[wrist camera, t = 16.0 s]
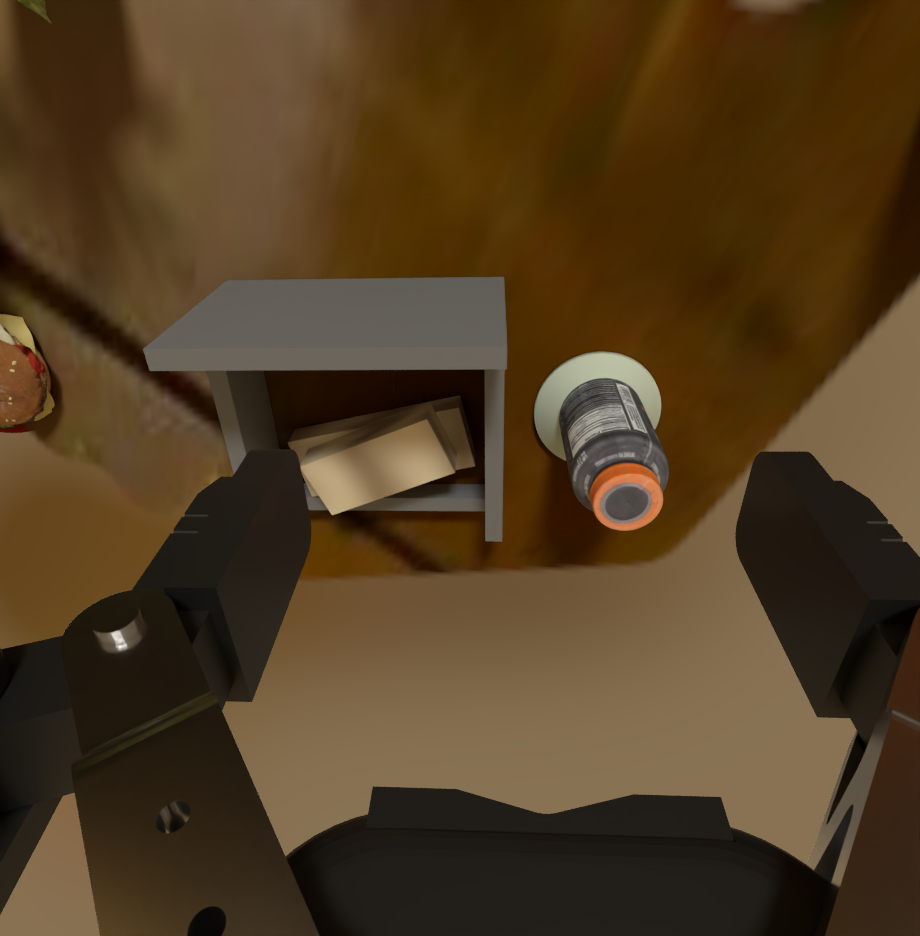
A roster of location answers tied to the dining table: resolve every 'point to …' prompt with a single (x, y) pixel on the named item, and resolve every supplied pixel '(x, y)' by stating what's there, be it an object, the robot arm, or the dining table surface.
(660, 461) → the pill bottle
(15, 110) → the dining table surface
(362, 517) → the dining table surface
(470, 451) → the offcut lower
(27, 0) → the house plant
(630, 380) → the coaster
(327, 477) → the offcut upper
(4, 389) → the hamburger
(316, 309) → the frame
